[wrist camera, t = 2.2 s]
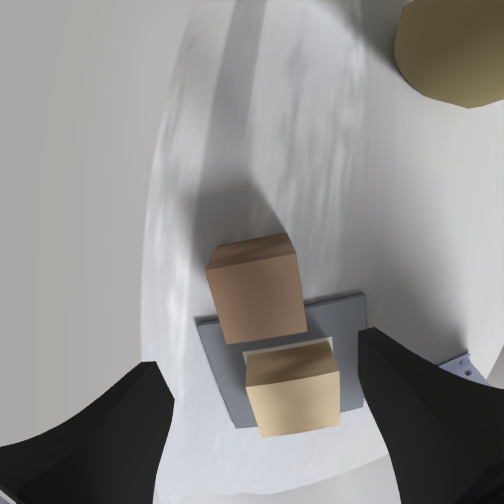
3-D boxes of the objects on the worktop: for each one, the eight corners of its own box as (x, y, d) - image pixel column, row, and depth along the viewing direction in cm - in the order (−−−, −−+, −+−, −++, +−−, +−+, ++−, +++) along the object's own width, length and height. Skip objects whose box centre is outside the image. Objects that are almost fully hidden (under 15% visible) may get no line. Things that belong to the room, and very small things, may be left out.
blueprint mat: (363, 292, 19) (366, 296, 18) (361, 403, 22) (363, 407, 22) (198, 322, 20) (196, 326, 19) (236, 424, 23) (235, 429, 22)
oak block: (328, 340, 19) (339, 370, 16) (331, 394, 21) (339, 424, 18) (247, 354, 20) (245, 387, 16) (261, 406, 21) (261, 437, 18)
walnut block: (287, 232, 18) (296, 253, 13) (297, 296, 19) (307, 331, 15) (217, 245, 18) (205, 270, 14) (232, 307, 19) (226, 344, 15)
